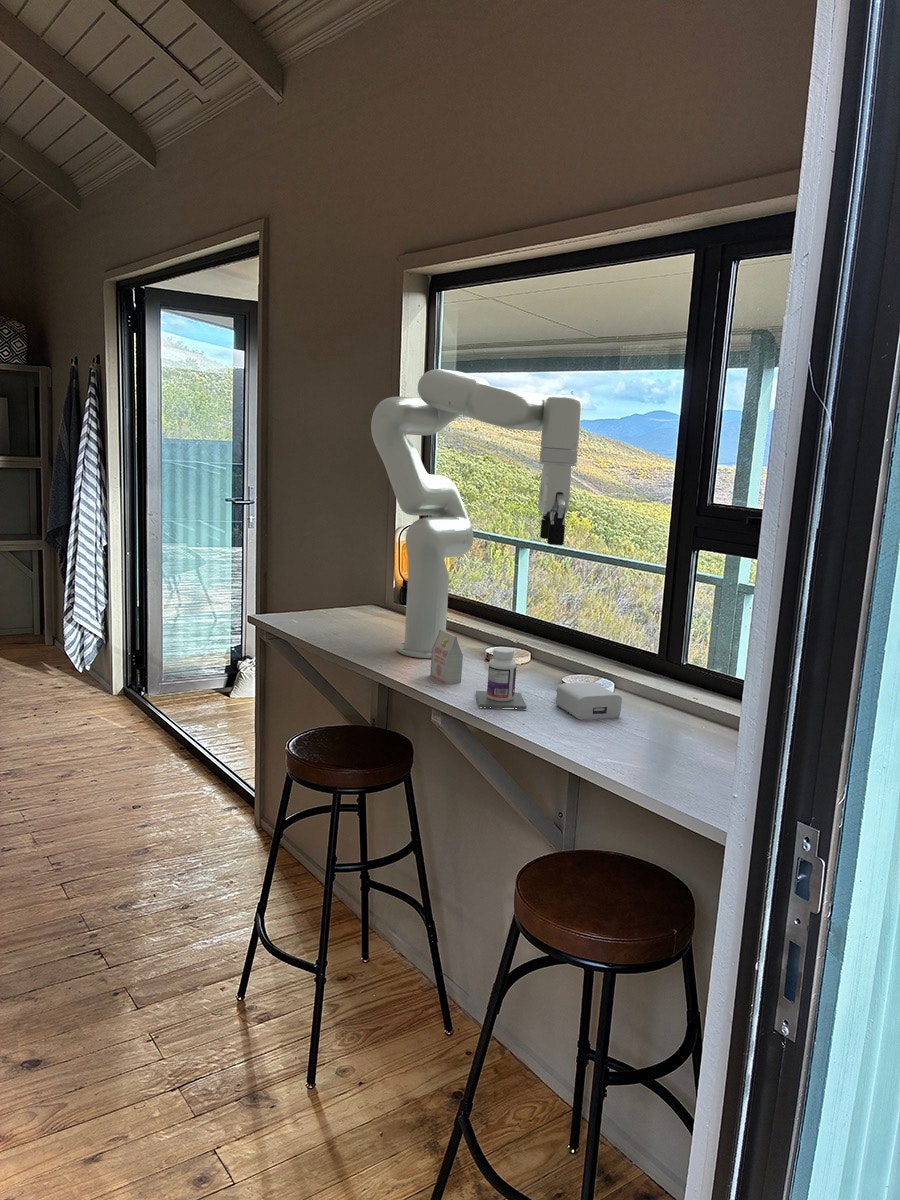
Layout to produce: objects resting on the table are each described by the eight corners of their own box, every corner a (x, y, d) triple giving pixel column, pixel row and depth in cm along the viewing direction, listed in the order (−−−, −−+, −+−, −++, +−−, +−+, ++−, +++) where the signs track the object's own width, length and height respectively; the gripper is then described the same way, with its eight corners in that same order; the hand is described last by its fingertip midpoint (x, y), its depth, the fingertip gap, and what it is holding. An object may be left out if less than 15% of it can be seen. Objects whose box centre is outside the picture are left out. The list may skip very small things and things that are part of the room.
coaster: (475, 694, 182) (475, 690, 182) (520, 696, 183) (520, 692, 182) (479, 708, 173) (479, 704, 173) (526, 710, 174) (526, 706, 174)
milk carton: (445, 674, 196) (448, 628, 194) (461, 682, 190) (464, 636, 188) (430, 675, 194) (433, 629, 192) (445, 684, 188) (448, 637, 186)
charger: (581, 695, 187) (620, 718, 173) (540, 697, 184) (577, 721, 170) (583, 673, 186) (622, 694, 172) (542, 675, 183) (579, 697, 169)
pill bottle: (499, 692, 182) (503, 645, 180) (519, 699, 178) (523, 650, 176) (480, 696, 178) (484, 648, 176) (500, 703, 174) (504, 654, 173)
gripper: (534, 455, 193) (527, 535, 196) (546, 458, 176) (539, 546, 179) (569, 457, 193) (562, 537, 196) (585, 460, 176) (577, 548, 179)
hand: (551, 541), depth 188 cm, fingers open, 9 cm apart
